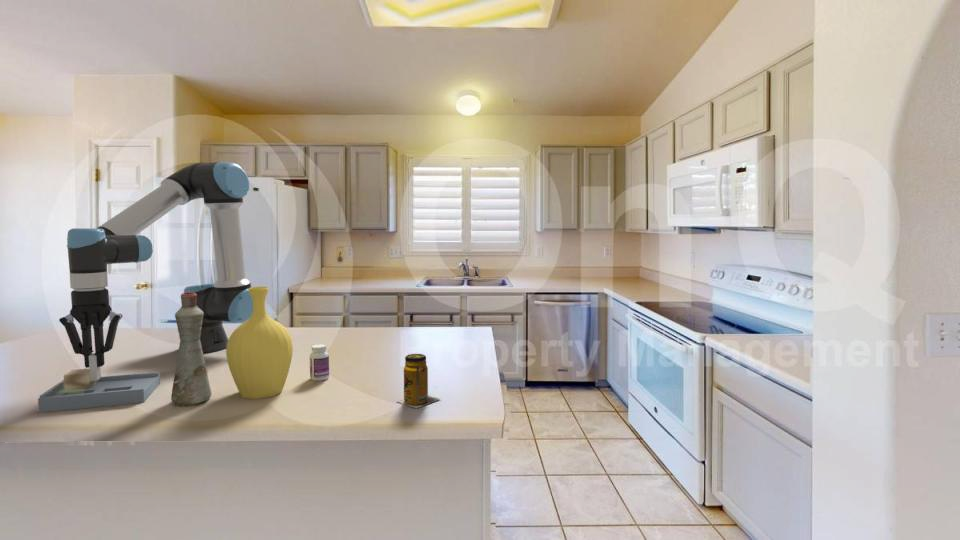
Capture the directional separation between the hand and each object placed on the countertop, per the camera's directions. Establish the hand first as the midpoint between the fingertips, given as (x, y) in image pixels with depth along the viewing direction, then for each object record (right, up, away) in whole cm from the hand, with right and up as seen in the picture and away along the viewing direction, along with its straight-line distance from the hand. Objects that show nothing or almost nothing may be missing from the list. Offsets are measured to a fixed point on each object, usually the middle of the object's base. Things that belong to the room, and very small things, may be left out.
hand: (95, 379), depth 128 cm
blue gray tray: (+3, -4, -2) cm, 6 cm away
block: (-3, -2, -1) cm, 4 cm away
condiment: (+84, -5, -2) cm, 84 cm away
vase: (+42, -4, +4) cm, 42 cm away
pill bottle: (+53, -3, +16) cm, 55 cm away
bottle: (+27, -5, -4) cm, 28 cm away
